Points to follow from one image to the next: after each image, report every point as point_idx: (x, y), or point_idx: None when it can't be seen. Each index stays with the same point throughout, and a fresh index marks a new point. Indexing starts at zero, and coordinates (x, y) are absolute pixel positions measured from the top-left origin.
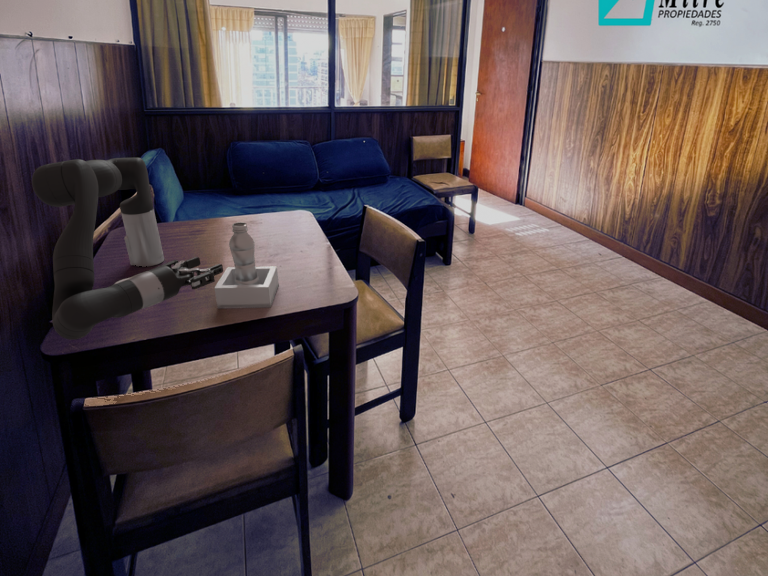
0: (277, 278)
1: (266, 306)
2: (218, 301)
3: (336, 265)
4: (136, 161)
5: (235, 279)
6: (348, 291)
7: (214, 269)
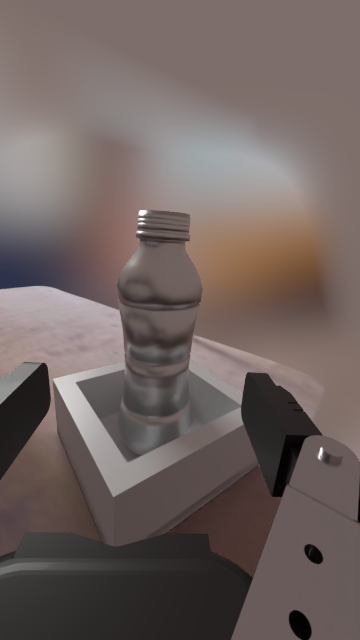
0: None
1: (250, 468)
2: (122, 541)
3: (195, 335)
4: None
5: (130, 414)
6: (291, 370)
7: (309, 425)
